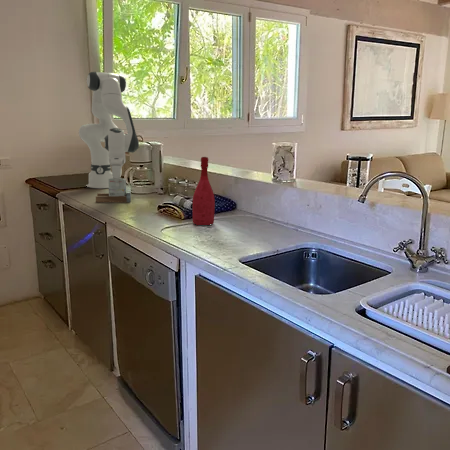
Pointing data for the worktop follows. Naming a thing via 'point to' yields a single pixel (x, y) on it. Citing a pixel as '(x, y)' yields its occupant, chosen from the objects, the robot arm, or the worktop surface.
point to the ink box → (117, 187)
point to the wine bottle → (203, 198)
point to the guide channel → (113, 197)
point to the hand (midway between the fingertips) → (117, 185)
